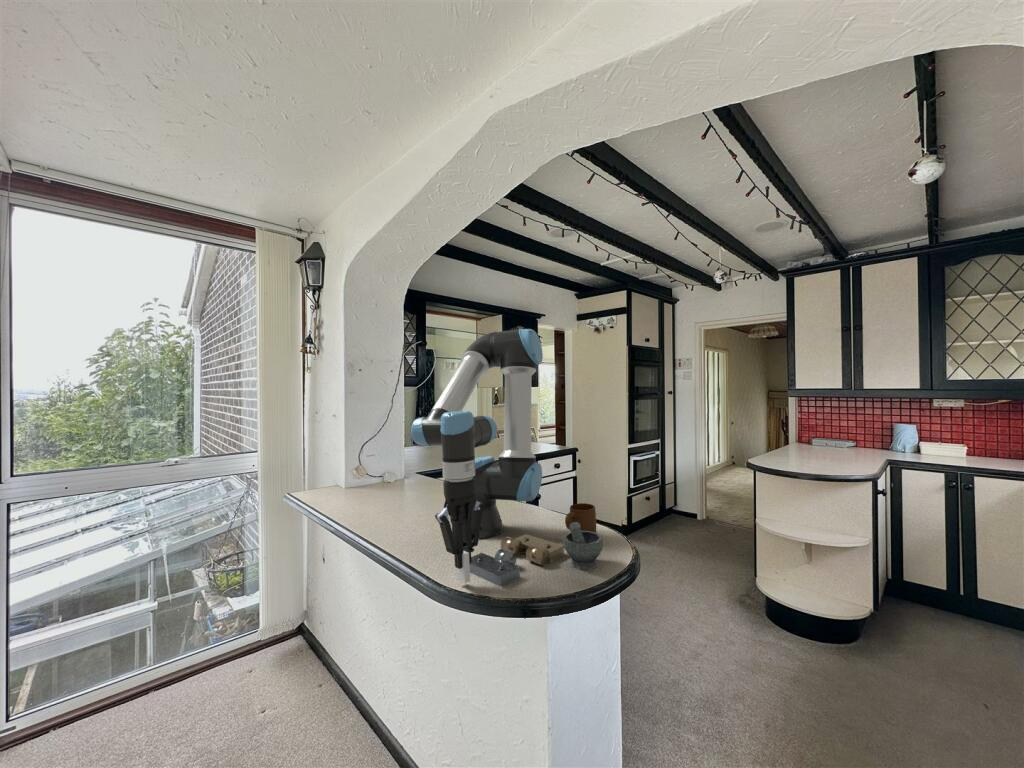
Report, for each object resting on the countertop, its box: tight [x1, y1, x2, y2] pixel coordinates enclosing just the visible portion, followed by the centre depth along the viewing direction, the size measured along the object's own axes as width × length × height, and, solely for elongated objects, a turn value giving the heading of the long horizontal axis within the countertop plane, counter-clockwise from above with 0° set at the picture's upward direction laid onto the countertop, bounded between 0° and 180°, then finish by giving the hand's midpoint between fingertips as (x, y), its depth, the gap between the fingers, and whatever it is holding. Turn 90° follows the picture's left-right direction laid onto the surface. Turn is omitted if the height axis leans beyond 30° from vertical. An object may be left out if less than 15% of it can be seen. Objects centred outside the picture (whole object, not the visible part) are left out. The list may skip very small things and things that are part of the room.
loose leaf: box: [469, 548, 521, 588], centre depth 102 cm, size 14×10×4 cm
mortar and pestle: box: [562, 522, 604, 571], centre depth 103 cm, size 11×9×12 cm
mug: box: [564, 502, 598, 533], centre depth 119 cm, size 12×8×9 cm, turn 136°
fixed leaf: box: [500, 534, 565, 566], centre depth 111 cm, size 14×10×4 cm
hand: (463, 580), depth 94 cm, fingers closed
